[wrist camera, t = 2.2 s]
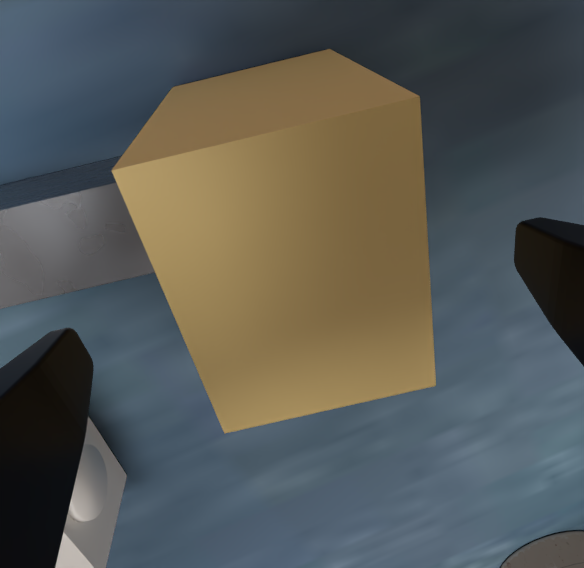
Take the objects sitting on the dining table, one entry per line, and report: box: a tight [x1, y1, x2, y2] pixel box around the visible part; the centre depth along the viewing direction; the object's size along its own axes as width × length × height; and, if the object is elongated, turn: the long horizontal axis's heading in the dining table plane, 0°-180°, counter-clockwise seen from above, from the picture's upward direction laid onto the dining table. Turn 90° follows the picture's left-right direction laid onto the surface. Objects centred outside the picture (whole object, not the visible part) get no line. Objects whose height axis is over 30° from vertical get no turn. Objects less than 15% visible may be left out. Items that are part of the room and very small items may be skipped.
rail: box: [0, 156, 155, 309], centre depth 15 cm, size 3×16×3 cm, turn 102°
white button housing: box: [55, 416, 127, 568], centre depth 20 cm, size 7×7×5 cm
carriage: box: [111, 49, 436, 433], centre depth 13 cm, size 6×5×8 cm
